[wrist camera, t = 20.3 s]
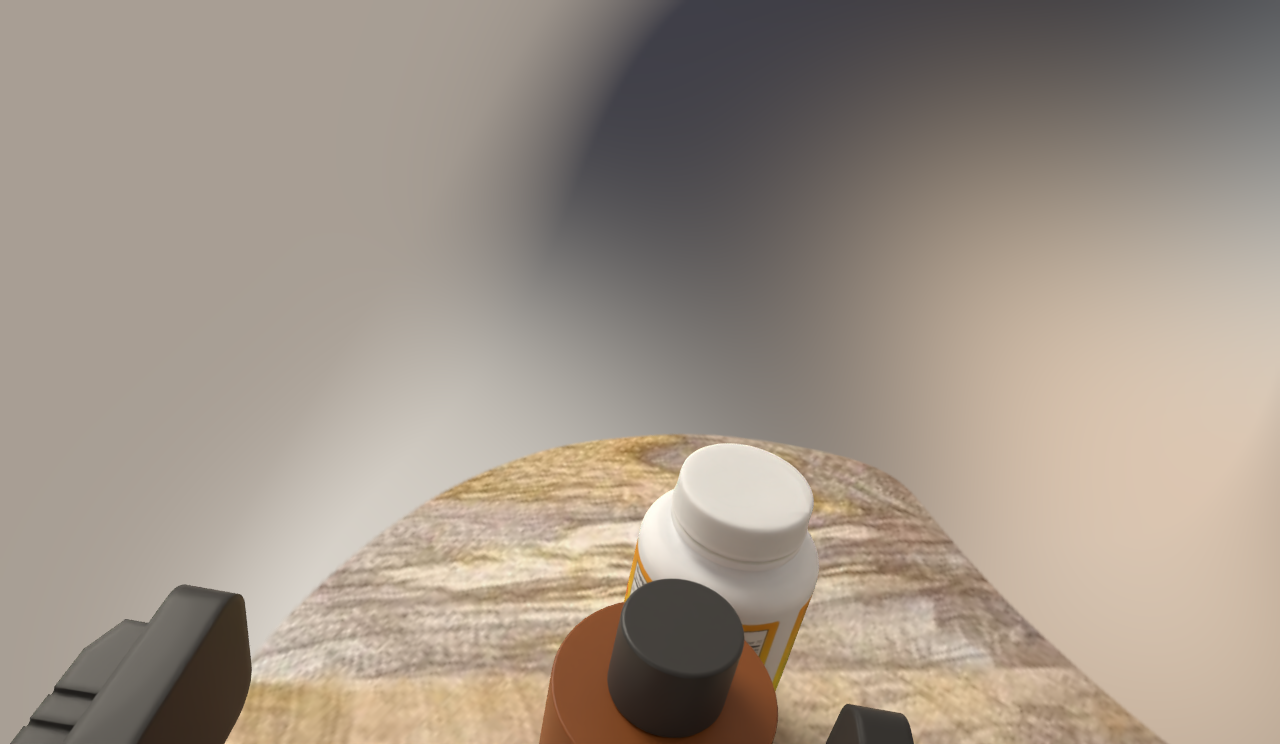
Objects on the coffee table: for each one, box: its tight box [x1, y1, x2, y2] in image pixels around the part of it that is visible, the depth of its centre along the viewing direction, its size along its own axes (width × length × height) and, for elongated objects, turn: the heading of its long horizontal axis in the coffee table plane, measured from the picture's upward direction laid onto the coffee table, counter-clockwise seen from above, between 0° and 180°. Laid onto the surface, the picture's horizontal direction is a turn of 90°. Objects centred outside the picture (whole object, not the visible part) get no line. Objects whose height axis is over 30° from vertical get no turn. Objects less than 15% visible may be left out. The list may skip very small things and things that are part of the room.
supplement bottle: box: [624, 443, 819, 691], centre depth 28 cm, size 6×6×10 cm
